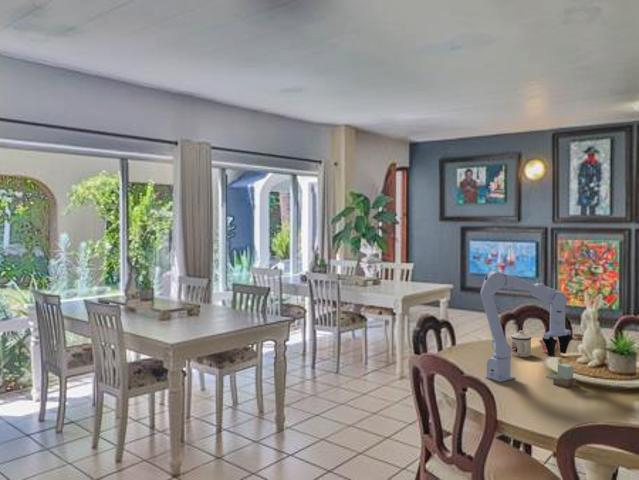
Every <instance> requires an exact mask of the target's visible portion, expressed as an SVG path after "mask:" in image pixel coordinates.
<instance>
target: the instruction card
mask: <svg viewBox="0 0 639 480" xmlns="http://www.w3.org/2000/svg"><path fill="white" fill-rule="evenodd" d="M557 376H558V374H557V373H556V374H555V373H551V374H549V375H546V376H545V378H548V379H551V380H552V379H553V378H554V377H557Z"/></svg>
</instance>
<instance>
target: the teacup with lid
mask: <svg viewBox="0 0 639 480" xmlns="http://www.w3.org/2000/svg"><path fill="white" fill-rule="evenodd" d="M510 338H511V356H515V357H516V358H517V357H520V358H528V357H529V358H530V357H531V356H532V336H531V335H530V334H528V333H525V332H524V330H518V332H516V333H513V334H512V335H511V336H510Z"/></svg>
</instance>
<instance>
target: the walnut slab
mask: <svg viewBox="0 0 639 480" xmlns="http://www.w3.org/2000/svg"><path fill="white" fill-rule="evenodd" d="M552 384H553V385H554V386H558V387H562V388H567V389H569V388H572V387H574V386H576V385H577V377H573V379H569V380H565V379H561V378H558V377H554V378H553V383H552Z"/></svg>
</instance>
